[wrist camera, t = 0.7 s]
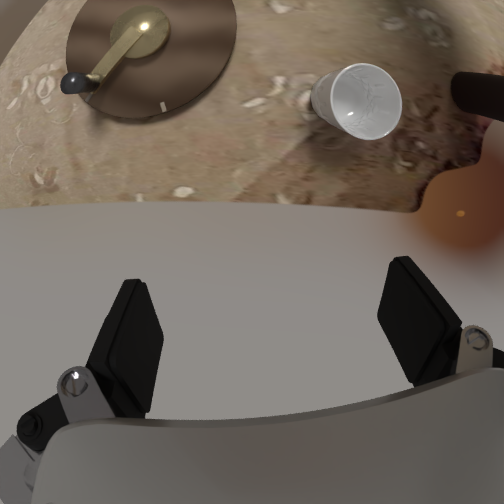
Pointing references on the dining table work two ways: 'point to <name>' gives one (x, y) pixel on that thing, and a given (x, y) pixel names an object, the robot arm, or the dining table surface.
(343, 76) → the white cup
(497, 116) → the bottle
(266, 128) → the dining table surface
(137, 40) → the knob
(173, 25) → the base plate
